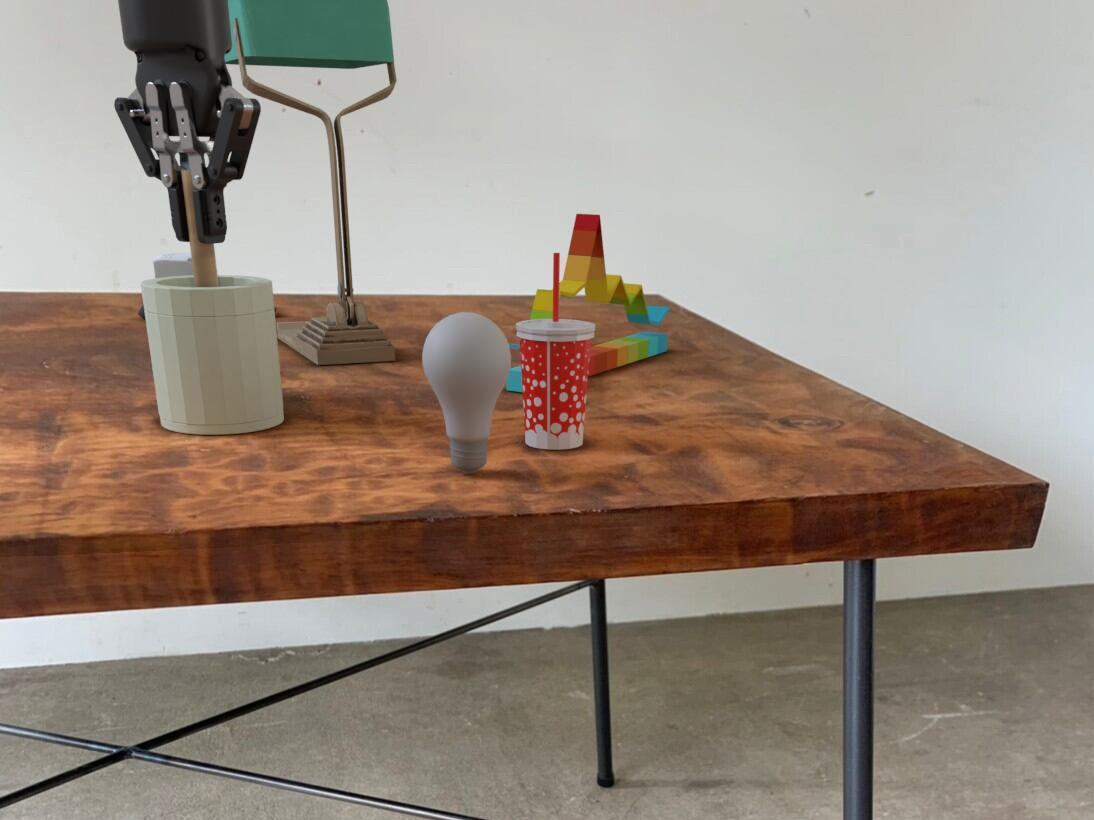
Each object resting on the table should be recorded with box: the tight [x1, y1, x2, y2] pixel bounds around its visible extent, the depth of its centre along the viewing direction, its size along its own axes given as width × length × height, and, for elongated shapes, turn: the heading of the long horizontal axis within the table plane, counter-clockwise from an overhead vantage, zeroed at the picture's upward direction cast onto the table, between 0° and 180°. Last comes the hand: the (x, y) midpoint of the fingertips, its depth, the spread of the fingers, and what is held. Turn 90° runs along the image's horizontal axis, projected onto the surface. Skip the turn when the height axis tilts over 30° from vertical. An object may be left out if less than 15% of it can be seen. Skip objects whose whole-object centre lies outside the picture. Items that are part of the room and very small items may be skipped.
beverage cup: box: [515, 252, 596, 451], centre depth 89 cm, size 6×6×14 cm
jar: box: [140, 274, 285, 436], centre depth 95 cm, size 10×10×11 cm
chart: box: [505, 213, 670, 393], centre depth 119 cm, size 30×3×15 cm, turn 150°
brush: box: [181, 170, 219, 287], centre depth 91 cm, size 4×4×16 cm
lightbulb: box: [421, 311, 512, 475], centre depth 81 cm, size 6×6×11 cm
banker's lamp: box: [225, 0, 398, 366], centre depth 123 cm, size 16×21×35 cm
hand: (201, 241), depth 89 cm, fingers closed on brush, 2 cm apart
